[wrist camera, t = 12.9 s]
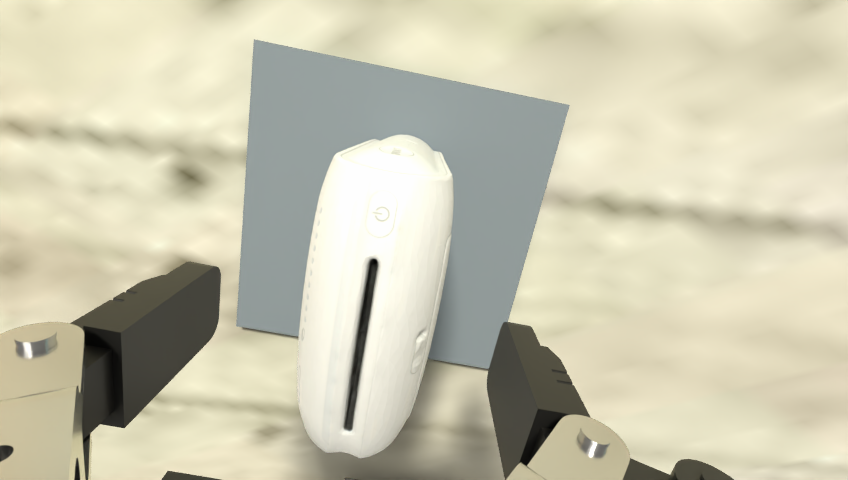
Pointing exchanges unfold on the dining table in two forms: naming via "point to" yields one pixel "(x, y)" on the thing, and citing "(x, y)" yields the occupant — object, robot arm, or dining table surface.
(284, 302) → the rubber mat
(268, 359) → the dining table surface
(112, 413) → the robot arm
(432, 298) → the photo printer
